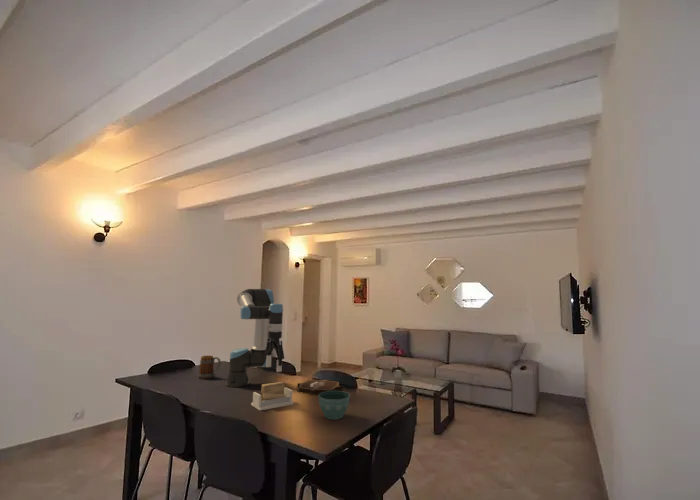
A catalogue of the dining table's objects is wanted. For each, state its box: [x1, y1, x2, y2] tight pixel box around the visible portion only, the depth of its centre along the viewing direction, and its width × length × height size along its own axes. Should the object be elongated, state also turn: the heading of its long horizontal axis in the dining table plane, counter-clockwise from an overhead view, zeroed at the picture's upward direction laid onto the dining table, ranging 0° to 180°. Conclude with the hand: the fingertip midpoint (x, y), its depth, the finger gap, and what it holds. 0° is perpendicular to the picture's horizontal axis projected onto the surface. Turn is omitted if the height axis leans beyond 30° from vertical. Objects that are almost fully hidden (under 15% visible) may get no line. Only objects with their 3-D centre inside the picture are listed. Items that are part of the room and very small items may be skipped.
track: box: [250, 386, 295, 411], centre depth 208 cm, size 12×20×7 cm, turn 127°
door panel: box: [260, 381, 285, 401], centre depth 209 cm, size 4×12×10 cm, turn 127°
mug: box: [197, 355, 221, 380], centre depth 271 cm, size 16×11×15 cm
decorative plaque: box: [296, 379, 343, 396], centre depth 244 cm, size 30×3×30 cm
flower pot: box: [318, 390, 351, 421], centre depth 190 cm, size 16×16×11 cm
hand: (273, 369), depth 210 cm, fingers open, 13 cm apart
